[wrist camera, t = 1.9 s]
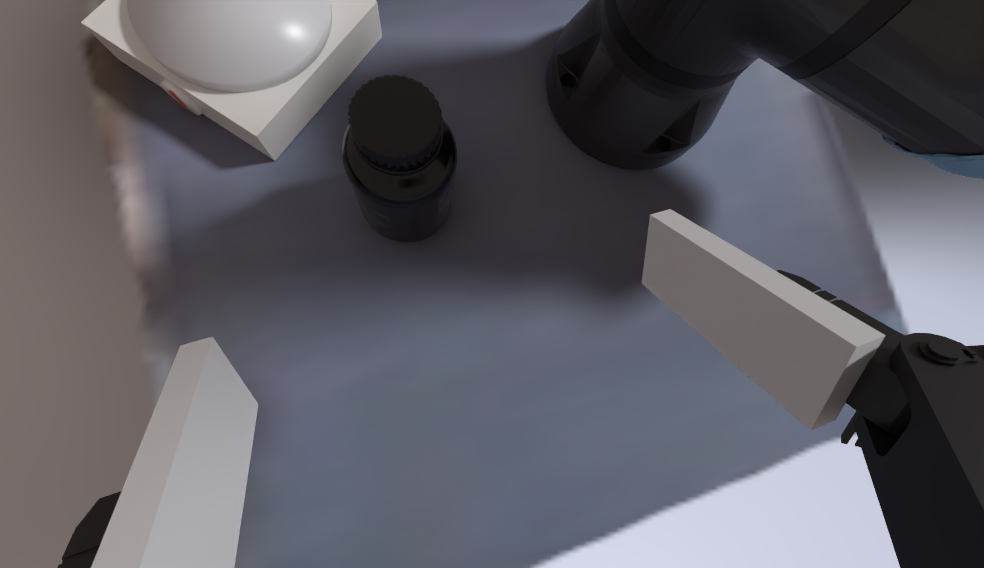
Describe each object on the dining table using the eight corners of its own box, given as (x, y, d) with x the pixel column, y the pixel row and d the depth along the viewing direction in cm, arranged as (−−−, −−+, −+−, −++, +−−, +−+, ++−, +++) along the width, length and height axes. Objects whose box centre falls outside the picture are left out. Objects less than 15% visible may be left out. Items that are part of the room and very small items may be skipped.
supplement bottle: (423, 148, 34) (421, 38, 23) (466, 219, 34) (486, 142, 22) (346, 185, 33) (301, 86, 21) (389, 259, 32) (367, 200, 21)
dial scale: (241, -56, 35) (214, -117, 31) (382, 37, 36) (375, -10, 31) (113, 64, 32) (61, 16, 27) (270, 166, 32) (244, 134, 28)
